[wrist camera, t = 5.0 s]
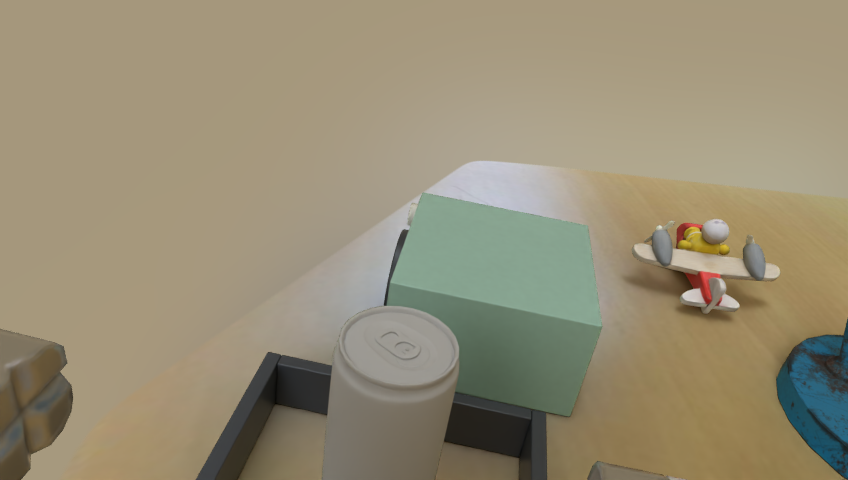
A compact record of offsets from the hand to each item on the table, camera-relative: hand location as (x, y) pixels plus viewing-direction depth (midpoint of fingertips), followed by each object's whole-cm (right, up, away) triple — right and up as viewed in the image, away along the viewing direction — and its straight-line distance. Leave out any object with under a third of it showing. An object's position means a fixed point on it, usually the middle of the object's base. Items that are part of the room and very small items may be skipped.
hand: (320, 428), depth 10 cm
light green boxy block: (+5, -4, +35) cm, 35 cm away
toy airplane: (+24, -2, +44) cm, 50 cm away
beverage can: (-1, -11, +21) cm, 24 cm away
